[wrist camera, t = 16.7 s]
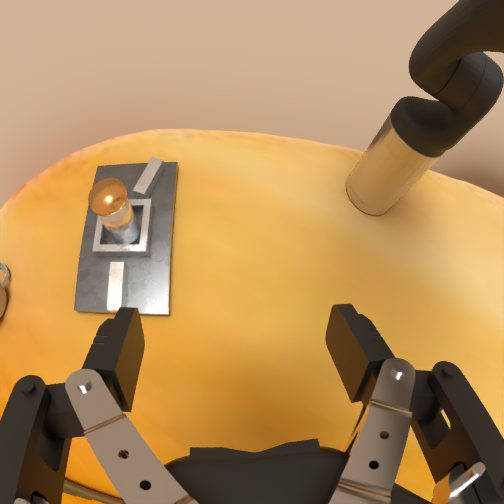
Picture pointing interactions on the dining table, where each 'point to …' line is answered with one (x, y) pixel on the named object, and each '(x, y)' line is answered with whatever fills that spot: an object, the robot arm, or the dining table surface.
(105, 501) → the torque wrench
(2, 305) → the ceramic mug
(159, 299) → the coupling base
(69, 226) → the dining table surface
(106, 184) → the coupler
